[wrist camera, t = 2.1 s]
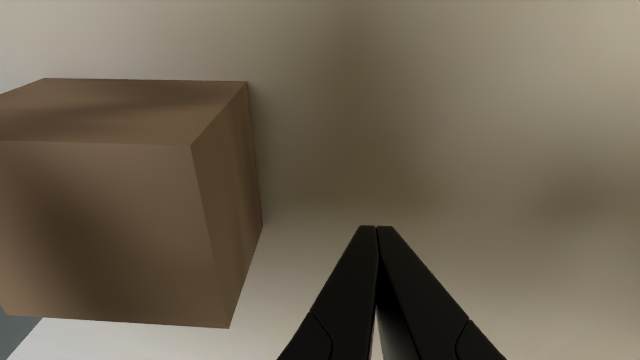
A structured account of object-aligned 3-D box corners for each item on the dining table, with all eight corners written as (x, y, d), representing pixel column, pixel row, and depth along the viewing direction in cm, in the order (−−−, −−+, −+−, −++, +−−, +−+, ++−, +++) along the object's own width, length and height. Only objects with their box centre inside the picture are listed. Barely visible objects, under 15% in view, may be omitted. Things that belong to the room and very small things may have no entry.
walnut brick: (247, 80, 12) (189, 145, 8) (263, 224, 15) (228, 328, 11) (46, 77, 12) (-115, 137, 8) (102, 217, 15) (7, 314, 11)
